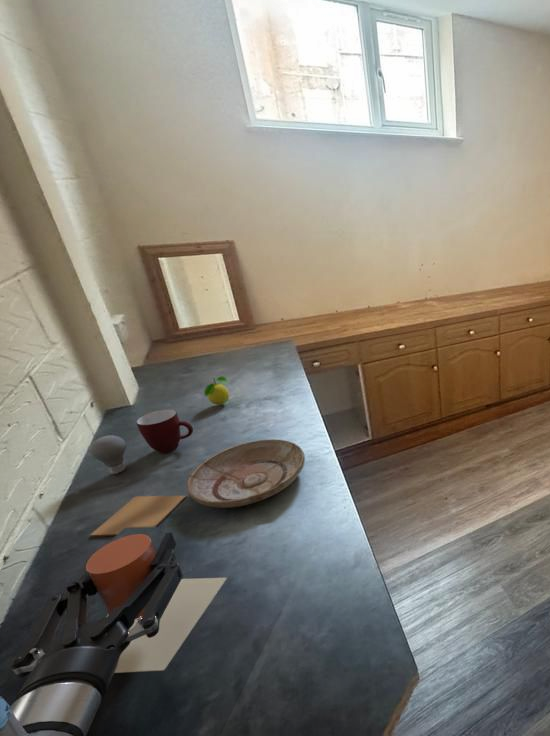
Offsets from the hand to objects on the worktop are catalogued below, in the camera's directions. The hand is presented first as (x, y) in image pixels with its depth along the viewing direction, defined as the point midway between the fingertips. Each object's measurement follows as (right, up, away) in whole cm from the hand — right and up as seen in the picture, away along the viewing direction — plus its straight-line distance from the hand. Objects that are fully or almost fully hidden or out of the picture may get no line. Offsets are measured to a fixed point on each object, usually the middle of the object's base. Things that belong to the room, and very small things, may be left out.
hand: (141, 546), depth 64 cm
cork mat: (-20, -4, +21) cm, 29 cm away
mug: (-32, +5, +44) cm, 54 cm away
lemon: (-36, +14, +66) cm, 76 cm away
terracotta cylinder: (+2, -8, -2) cm, 8 cm away
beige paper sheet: (+2, -13, 0) cm, 13 cm away
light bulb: (-38, +1, +34) cm, 51 cm away
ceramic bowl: (-2, 0, +31) cm, 31 cm away
